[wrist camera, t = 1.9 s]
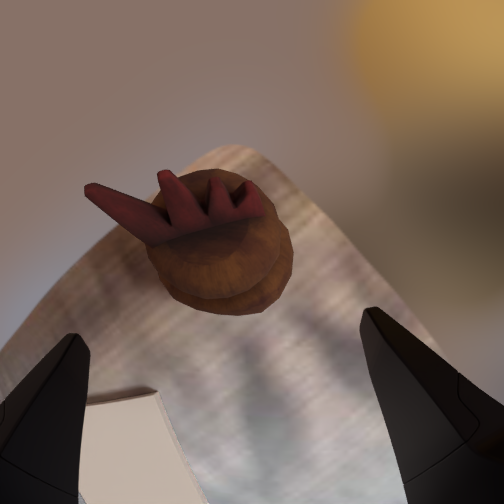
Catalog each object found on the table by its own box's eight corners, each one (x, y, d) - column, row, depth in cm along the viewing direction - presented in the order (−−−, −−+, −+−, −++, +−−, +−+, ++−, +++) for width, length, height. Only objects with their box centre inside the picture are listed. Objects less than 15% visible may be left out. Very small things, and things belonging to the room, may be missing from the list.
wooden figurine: (176, 306, 20) (12, 282, 5) (189, 223, 21) (86, 69, 6) (277, 320, 19) (343, 341, 5) (286, 234, 21) (347, 73, 6)
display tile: (212, 509, 16) (211, 516, 15) (100, 513, 16) (96, 518, 15) (158, 391, 18) (153, 394, 17) (48, 408, 18) (41, 411, 17)
